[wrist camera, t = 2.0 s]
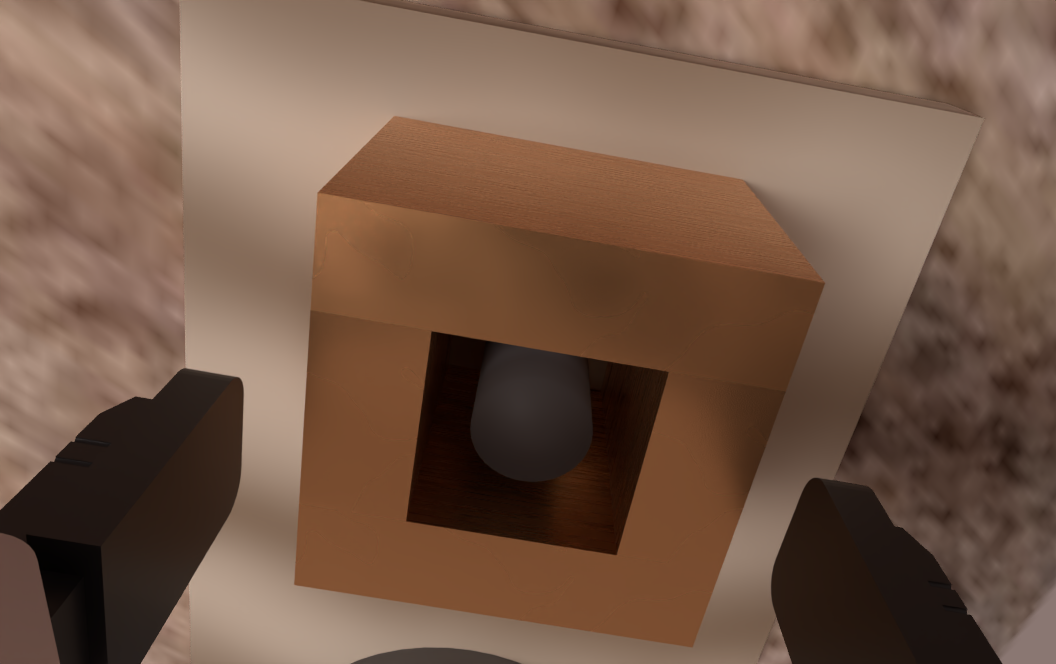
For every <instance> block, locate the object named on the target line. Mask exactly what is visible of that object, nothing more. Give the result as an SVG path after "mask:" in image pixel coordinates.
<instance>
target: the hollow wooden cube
mask: <svg viewBox="0 0 1056 664" xmlns="http://www.w3.org/2000/svg"><path fill="white" fill-rule="evenodd" d="M824 285H825V282H824V281H823V279H822V278H821V277H820V276H819V274H818V273H817V272H816V271H815V269H814V268H813V267H812V266H811V264H810V263H809V262H808V261H807V259H806V258H805V257H804V256H803V254H802V253H801V252H800V251H799V249H798V248H797V247H796V246H795V244H794V243H793V242H792V241H791V239H790V238H789V237H788V236H787V234H786V233H785V232H784V231H783V229H782V228H781V227H780V226H779V224H778V223H777V222H776V221H775V219H774V218H773V217H772V216H771V214H770V213H769V212H768V211H767V209H766V208H765V207H764V205H763V204H762V203H761V202H760V200H759V199H758V198H757V197H756V195H755V194H754V193H753V192H752V190H751V189H750V188H749V187H748V185H747V184H746V183H745V182H744V180H743V179H737V178H732V177H726V176H721V175H715V174H710V173H704V172H699V171H693V170H688V169H682V168H677V167H671V166H666V165H660V164H655V163H649V162H644V161H639V160H633V159H628V158H622V157H617V156H611V155H606V154H600V153H595V152H589V151H584V150H578V149H573V148H567V147H562V146H556V145H551V144H546V143H540V142H535V141H529V140H524V139H518V138H513V137H507V136H502V135H496V134H491V133H485V132H480V131H474V130H469V129H463V128H458V127H452V126H447V125H442V124H436V123H431V122H425V121H420V120H414V119H409V118H403V117H398V116H394V117H393V118H392V119H391V120H390V121H389V122H388V123H387V124H386V125H385V126H384V127H383V128H382V129H381V130H380V131H379V132H378V133H377V134H376V135H375V136H374V137H373V138H372V139H371V140H370V141H369V142H368V143H367V144H366V145H365V146H364V147H363V148H362V149H361V150H360V151H359V152H358V153H357V154H356V155H355V156H354V157H353V158H352V159H351V160H350V161H349V162H348V163H347V164H346V165H345V166H344V167H343V168H342V169H341V170H340V171H339V172H338V173H337V174H336V175H335V176H334V177H333V178H332V179H331V180H330V181H329V182H328V183H327V184H326V185H325V186H324V187H323V188H322V189H321V190H320V191H319V192H318V193H317V208H316V225H315V242H314V259H313V276H312V293H311V309H310V326H309V343H308V360H307V377H306V394H305V410H304V427H303V444H302V461H301V478H300V495H299V512H298V528H297V545H296V562H295V579H294V585H297V586H303V587H310V588H316V589H322V590H329V591H335V592H342V593H348V594H354V595H361V596H367V597H373V598H380V599H386V600H393V601H399V602H405V603H412V604H418V605H425V606H431V607H437V608H444V609H450V610H456V611H463V612H469V613H476V614H482V615H488V616H495V617H501V618H507V619H514V620H520V621H527V622H533V623H539V624H546V625H552V626H558V627H565V628H571V629H578V630H584V631H590V632H597V633H603V634H609V635H616V636H622V637H629V638H635V639H641V640H648V641H654V642H660V643H667V644H673V645H680V646H686V647H692V648H693V645H694V642H695V639H696V637H697V634H698V631H699V628H700V626H701V623H702V620H703V617H704V615H705V612H706V609H707V606H708V604H709V601H710V598H711V595H712V593H713V590H714V587H715V585H716V582H717V579H718V576H719V574H720V571H721V568H722V565H723V563H724V560H725V557H726V554H727V552H728V549H729V546H730V543H731V541H732V538H733V535H734V532H735V530H736V527H737V524H738V521H739V519H740V516H741V513H742V510H743V508H744V505H745V502H746V499H747V497H748V494H749V491H750V488H751V486H752V483H753V480H754V477H755V475H756V472H757V469H758V466H759V464H760V461H761V458H762V456H763V453H764V450H765V447H766V445H767V442H768V439H769V436H770V434H771V431H772V428H773V425H774V423H775V420H776V417H777V414H778V412H779V409H780V406H781V403H782V401H783V398H784V395H785V392H786V390H787V387H788V384H789V381H790V379H791V376H792V373H793V370H794V368H795V365H796V362H797V359H798V357H799V354H800V351H801V348H802V346H803V343H804V340H805V338H806V335H807V332H808V329H809V327H810V324H811V321H812V318H813V316H814V313H815V310H816V307H817V305H818V302H819V299H820V296H821V294H822V291H823V288H824ZM453 335H458V336H463V337H469V338H475V339H481V340H487V341H492V342H498V343H504V344H510V345H516V346H522V347H527V348H533V349H539V350H545V351H551V352H557V353H562V354H568V355H574V356H580V357H586V358H592V359H597V360H603V361H608V364H607V368H606V372H605V376H604V380H603V384H602V388H601V390H597V389H592V388H590V395H591V409H592V423H593V436H592V442H591V445H590V448H589V450H588V452H587V454H586V455H585V457H584V458H583V460H582V461H581V462H580V463H579V464H578V465H577V466H576V467H575V468H573V469H572V470H571V471H569V472H567V473H566V474H564V475H562V476H560V477H557V478H554V479H551V480H546V481H538V482H527V481H520V480H515V479H512V478H509V477H506V476H504V475H502V474H499V473H498V472H496V471H495V470H493V469H492V468H490V467H489V466H488V465H487V464H486V463H485V462H484V461H483V460H482V459H481V457H480V456H479V455H478V453H477V451H476V450H475V448H474V445H473V442H472V439H471V432H470V425H471V418H472V413H473V407H474V402H475V397H476V391H477V386H478V381H479V376H480V369H474V368H468V367H462V366H456V365H450V364H448V363H449V356H450V349H451V343H452V336H453Z"/></svg>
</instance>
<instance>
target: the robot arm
mask: <svg viewBox="0 0 1056 664" xmlns="http://www.w3.org/2000/svg"><path fill="white" fill-rule="evenodd" d="M243 406H244V388H243V382H242V380H241V379H240V378H239V377H235V376H229V375H223V374H217V373H211V372H205V371H200V370H194V369H188V368H183V369H181V370H180V371H179V372H178V373H177V374H176V375H175V376H174V377H173V378H172V379H171V380H170V381H169V382H168V383H167V385H166V386H165V387H164V388H163V389H162V390H161V391H160V392H159V393H158V394H157V395H156V396H155V397H154V398H153V399H147V398H141V397H134V398H132V399H129V400H127V401H125V402H123V403H121V404H119V405H117V406H115V407H113V408H111V409H108V410H106V411H104V412H102V413H100V414H99V415H98V416H97V417H96V418H95V419H94V420H93V421H92V422H91V423H89V424H88V425H87V426H86V427H85V428H84V429H83V430H82V431H81V432H80V433H79V434H78V435H77V436H76V439H75V442H70V443H69V444H68V445H67V446H66V447H65V448H64V449H63V450H62V451H61V452H60V453H59V454H58V455H57V456H56V459H55V461H54V462H51V461H50V462H49V463H48V464H47V465H46V466H45V467H44V468H43V469H42V470H41V471H40V472H39V473H38V474H37V475H36V476H35V477H34V478H33V479H32V480H31V481H30V482H29V483H28V484H27V485H26V486H25V487H24V488H23V489H22V490H21V491H20V492H19V493H18V494H17V495H15V496H14V497H13V498H12V499H11V500H10V501H9V502H8V503H7V504H6V505H5V506H4V507H3V508H2V509H1V510H0V664H141V662H142V660H143V659H144V657H145V655H146V654H147V652H148V650H149V649H150V647H151V645H152V644H153V642H154V640H155V639H156V637H157V635H158V634H159V632H160V630H161V629H162V627H163V625H164V624H165V622H166V620H167V619H168V617H169V615H170V614H171V612H172V610H173V609H174V607H175V605H176V604H177V602H178V600H179V599H180V597H181V595H182V594H183V592H184V590H185V589H186V587H187V585H188V584H189V582H190V580H191V579H192V577H193V575H194V574H195V572H196V570H197V569H198V567H199V565H200V564H201V562H202V560H203V559H204V557H205V555H206V554H207V552H208V550H209V549H210V547H211V545H212V544H213V542H214V540H215V539H216V537H217V535H218V533H219V532H220V530H221V528H222V527H223V525H224V523H225V522H226V520H227V518H228V517H229V515H230V513H231V511H232V508H233V506H234V503H235V500H236V497H237V493H238V489H239V484H240V479H241V467H242V437H243ZM951 585H952V584H951V583H950V581H949V580H948V578H947V577H946V575H945V574H944V572H943V570H942V569H941V567H940V566H939V564H938V563H937V561H936V559H935V558H934V556H933V555H932V554H931V553H930V552H929V551H927V550H926V549H925V548H924V547H923V546H922V545H921V544H920V543H919V542H918V541H916V540H915V539H914V538H913V537H912V536H911V535H910V534H909V533H908V532H906V531H905V530H904V529H903V528H900V527H894V525H893V523H892V522H891V520H890V518H889V517H888V515H887V513H886V512H885V510H884V508H883V507H882V505H881V503H880V502H879V500H878V498H877V497H876V495H875V493H874V492H873V491H872V489H870V488H869V487H867V486H863V485H857V484H852V483H846V482H840V481H834V480H828V479H822V478H812V479H811V480H809V481H808V482H807V484H806V485H805V487H804V489H803V491H802V493H801V496H800V498H799V501H798V504H797V506H796V509H795V511H794V514H793V516H792V519H791V521H790V524H789V526H788V529H787V531H786V534H785V537H784V539H783V542H782V544H781V547H780V549H779V552H778V554H777V557H776V560H775V563H774V566H773V571H772V577H771V598H772V604H773V608H774V611H775V614H776V617H777V620H778V623H779V626H780V629H781V632H782V635H783V638H784V641H785V644H786V647H787V649H788V652H789V655H790V658H791V661H792V664H1002V662H1001V661H1000V659H999V658H998V656H997V655H996V653H995V652H994V650H993V648H992V647H991V645H990V644H989V642H988V641H987V639H986V637H985V636H984V634H983V633H982V631H981V630H980V628H979V627H978V625H977V623H976V622H975V620H974V619H973V617H972V616H971V615H967V608H966V606H965V605H964V603H963V602H962V600H961V598H960V597H959V595H958V594H957V592H956V591H955V590H951Z"/></svg>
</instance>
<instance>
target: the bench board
mask: <svg viewBox="0 0 1056 664" xmlns="http://www.w3.org/2000/svg"><path fill="white" fill-rule="evenodd" d="M180 56H181V116H182V176H183V236H184V296H185V357H186V368H188V369H194V370H200V371H205V372H211V373H217V374H223V375H229V376H235V377H239V378H240V379H241V380H242V382H243V388H244V406H243V437H242V467H241V479H240V484H239V489H238V493H237V497H236V500H235V503H234V506H233V508H232V511H231V513H230V515H229V517H228V518H227V520H226V522H225V523H224V525H223V527H222V528H221V530H220V532H219V533H218V535H217V537H216V539H215V540H214V542H213V544H212V545H211V547H210V549H209V550H208V552H207V554H206V555H205V557H204V559H203V560H202V562H201V564H200V565H199V567H198V569H197V570H196V572H195V574H194V575H193V577H192V579H191V580H190V582H189V597H190V658H191V664H757V662H758V659H759V657H760V654H761V652H762V650H763V647H764V645H765V642H766V640H767V638H768V635H769V633H770V630H771V628H772V626H773V623H774V621H775V619H776V614H775V611H774V608H773V604H772V598H771V577H772V571H773V566H774V563H775V560H776V557H777V554H778V552H779V549H780V547H781V544H782V542H783V539H784V537H785V534H786V531H787V529H788V526H789V524H790V521H791V519H792V516H793V514H794V511H795V509H796V506H797V504H798V501H799V498H800V496H801V493H802V491H803V489H804V487H805V485H806V484H807V482H808V481H809V480H811V479H812V478H822V479H828V480H834V477H835V475H836V473H837V470H838V468H839V465H840V463H841V461H842V458H843V456H844V453H845V451H846V449H847V446H848V444H849V442H850V439H851V437H852V434H853V432H854V430H855V427H856V425H857V422H858V420H859V418H860V415H861V413H862V410H863V408H864V406H865V403H866V401H867V398H868V396H869V394H870V391H871V389H872V387H873V384H874V382H875V379H876V377H877V375H878V372H879V370H880V367H881V365H882V363H883V360H884V358H885V355H886V353H887V351H888V348H889V346H890V343H891V341H892V339H893V336H894V334H895V332H896V329H897V327H898V324H899V322H900V320H901V317H902V315H903V312H904V310H905V308H906V305H907V303H908V300H909V298H910V296H911V293H912V291H913V288H914V286H915V284H916V281H917V279H918V276H919V274H920V272H921V269H922V267H923V265H924V262H925V260H926V257H927V255H928V253H929V250H930V248H931V245H932V243H933V241H934V238H935V236H936V233H937V231H938V229H939V226H940V224H941V221H942V219H943V217H944V214H945V212H946V210H947V207H948V205H949V202H950V200H951V198H952V195H953V193H954V190H955V188H956V186H957V183H958V181H959V178H960V176H961V174H962V171H963V169H964V166H965V164H966V162H967V159H968V157H969V155H970V152H971V150H972V147H973V145H974V143H975V140H976V138H977V135H978V133H979V131H980V128H981V126H982V123H983V121H984V119H985V118H983V117H980V116H978V115H975V114H972V113H970V112H967V111H965V110H962V109H960V108H957V107H955V106H952V105H950V104H947V103H942V102H937V101H932V100H926V99H921V98H916V97H910V96H905V95H900V94H895V93H889V92H884V91H879V90H873V89H868V88H863V87H857V86H852V85H847V84H842V83H836V82H831V81H826V80H820V79H815V78H810V77H805V76H799V75H794V74H789V73H783V72H778V71H773V70H768V69H762V68H757V67H752V66H746V65H741V64H736V63H730V62H725V61H720V60H715V59H709V58H704V57H699V56H693V55H688V54H683V53H678V52H672V51H667V50H662V49H656V48H651V47H646V46H641V45H635V44H630V43H625V42H619V41H614V40H609V39H603V38H598V37H593V36H588V35H582V34H577V33H572V32H566V31H561V30H556V29H551V28H545V27H540V26H535V25H529V24H524V23H519V22H514V21H508V20H503V19H498V18H492V17H487V16H482V15H476V14H471V13H466V12H461V11H455V10H450V9H445V8H439V7H434V6H429V5H424V4H418V3H413V2H408V1H402V0H180ZM394 116H398V117H403V118H409V119H414V120H420V121H425V122H431V123H436V124H442V125H447V126H452V127H458V128H463V129H469V130H474V131H480V132H485V133H491V134H496V135H502V136H507V137H513V138H518V139H524V140H529V141H535V142H540V143H546V144H551V145H556V146H562V147H567V148H573V149H578V150H584V151H589V152H595V153H600V154H606V155H611V156H617V157H622V158H628V159H633V160H639V161H644V162H649V163H655V164H660V165H666V166H671V167H677V168H682V169H688V170H693V171H699V172H704V173H710V174H715V175H721V176H726V177H732V178H737V179H743V180H744V182H745V183H746V184H747V185H748V187H749V188H750V189H751V190H752V192H753V193H754V194H755V195H756V197H757V198H758V199H759V200H760V202H761V203H762V204H763V205H764V207H765V208H766V209H767V211H768V212H769V213H770V214H771V216H772V217H773V218H774V219H775V221H776V222H777V223H778V224H779V226H780V227H781V228H782V229H783V231H784V232H785V233H786V234H787V236H788V237H789V238H790V239H791V241H792V242H793V243H794V244H795V246H796V247H797V248H798V249H799V251H800V252H801V253H802V254H803V256H804V257H805V258H806V259H807V261H808V262H809V263H810V264H811V266H812V267H813V268H814V269H815V271H816V272H817V273H818V274H819V276H820V277H821V278H822V279H823V281H824V282H825V285H824V288H823V291H822V294H821V296H820V299H819V302H818V305H817V307H816V310H815V313H814V316H813V318H812V321H811V324H810V327H809V329H808V332H807V335H806V338H805V340H804V343H803V346H802V348H801V351H800V354H799V357H798V359H797V362H796V365H795V368H794V370H793V373H792V376H791V379H790V381H789V384H788V387H787V390H786V392H785V395H784V398H783V401H782V403H781V406H780V409H779V412H778V414H777V417H776V420H775V423H774V425H773V428H772V431H771V434H770V436H769V439H768V442H767V445H766V447H765V450H764V453H763V456H762V458H761V461H760V464H759V466H758V469H757V472H756V475H755V477H754V480H753V483H752V486H751V488H750V491H749V494H748V497H747V499H746V502H745V505H744V508H743V510H742V513H741V516H740V519H739V521H738V524H737V527H736V530H735V532H734V535H733V538H732V541H731V543H730V546H729V549H728V552H727V554H726V557H725V560H724V563H723V565H722V568H721V571H720V574H719V576H718V579H717V582H716V585H715V587H714V590H713V593H712V595H711V598H710V601H709V604H708V606H707V609H706V612H705V615H704V617H703V620H702V623H701V626H700V628H699V631H698V634H697V637H696V639H695V642H694V645H693V648H692V647H686V646H680V645H673V644H667V643H660V642H654V641H648V640H641V639H635V638H629V637H622V636H616V635H609V634H603V633H597V632H590V631H584V630H578V629H571V628H565V627H558V626H552V625H546V624H539V623H533V622H527V621H520V620H514V619H507V618H501V617H495V616H488V615H482V614H476V613H469V612H463V611H456V610H450V609H444V608H437V607H431V606H425V605H418V604H412V603H405V602H399V601H393V600H386V599H380V598H373V597H367V596H361V595H354V594H348V593H342V592H335V591H329V590H322V589H316V588H310V587H303V586H297V585H294V579H295V562H296V545H297V528H298V512H299V495H300V478H301V461H302V444H303V427H304V410H305V394H306V377H307V360H308V343H309V326H310V309H311V293H312V276H313V259H314V242H315V225H316V208H317V193H318V192H319V191H320V190H321V189H322V188H323V187H324V186H325V185H326V184H327V183H328V182H329V181H330V180H331V179H332V178H333V177H334V176H335V175H336V174H337V173H338V172H339V171H340V170H341V169H342V168H343V167H344V166H345V165H346V164H347V163H348V162H349V161H350V160H351V159H352V158H353V157H354V156H355V155H356V154H357V153H358V152H359V151H360V150H361V149H362V148H363V147H364V146H365V145H366V144H367V143H368V142H369V141H370V140H371V139H372V138H373V137H374V136H375V135H376V134H377V133H378V132H379V131H380V130H381V129H382V128H383V127H384V126H385V125H386V124H387V123H388V122H389V121H390V120H391V119H392V118H393V117H394ZM448 364H450V365H456V366H462V367H468V368H474V369H480V376H479V381H478V386H477V391H476V397H475V402H474V407H473V413H472V418H471V425H470V432H471V439H472V442H473V445H474V448H475V450H476V451H477V453H478V455H479V456H480V457H481V459H482V460H483V461H484V462H485V463H486V464H487V465H488V466H489V467H490V468H492V469H493V470H495V471H496V472H498V473H499V474H502V475H504V476H506V477H509V478H512V479H515V480H520V481H527V482H538V481H546V480H551V479H554V478H557V477H560V476H562V475H564V474H566V473H567V472H569V471H571V470H572V469H573V468H575V467H576V466H577V465H578V464H579V463H580V462H581V461H582V460H583V458H584V457H585V455H586V454H587V452H588V450H589V448H590V445H591V442H592V436H593V423H592V409H591V395H590V388H592V389H597V390H601V388H602V384H603V380H604V376H605V372H606V368H607V364H608V361H603V360H597V359H592V358H586V357H580V356H574V355H568V354H562V353H557V352H551V351H545V350H539V349H533V348H527V347H522V346H516V345H510V344H504V343H498V342H492V341H487V340H481V339H475V338H469V337H463V336H458V335H453V336H452V343H451V349H450V356H449V363H448Z"/></svg>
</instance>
